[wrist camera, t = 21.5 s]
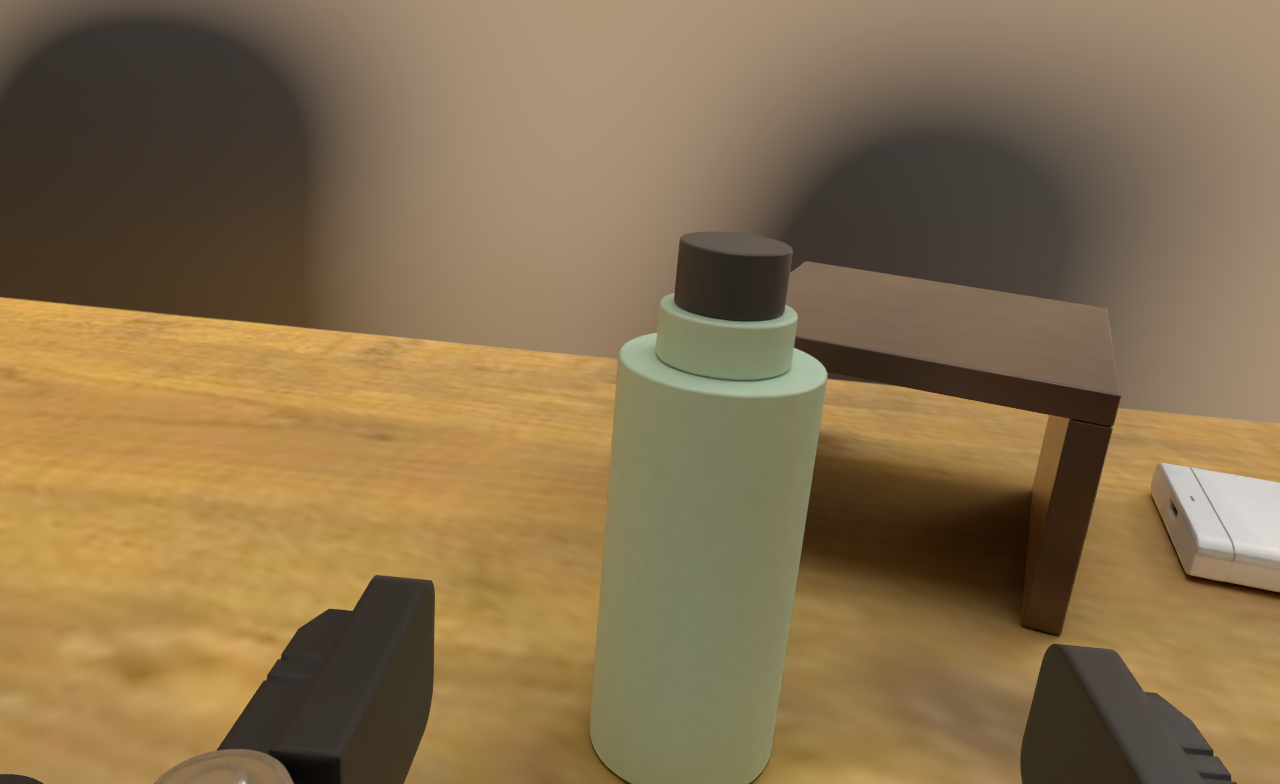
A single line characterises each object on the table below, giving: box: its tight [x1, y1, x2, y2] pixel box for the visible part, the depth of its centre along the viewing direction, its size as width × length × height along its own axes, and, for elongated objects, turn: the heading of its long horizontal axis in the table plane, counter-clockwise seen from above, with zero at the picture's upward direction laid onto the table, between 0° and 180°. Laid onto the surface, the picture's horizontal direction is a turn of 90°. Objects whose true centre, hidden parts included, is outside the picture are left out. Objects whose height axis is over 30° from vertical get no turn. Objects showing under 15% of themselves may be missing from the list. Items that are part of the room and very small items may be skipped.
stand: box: [786, 262, 1121, 635], centre depth 38 cm, size 12×12×8 cm
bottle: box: [590, 232, 827, 784], centre depth 24 cm, size 5×5×13 cm
